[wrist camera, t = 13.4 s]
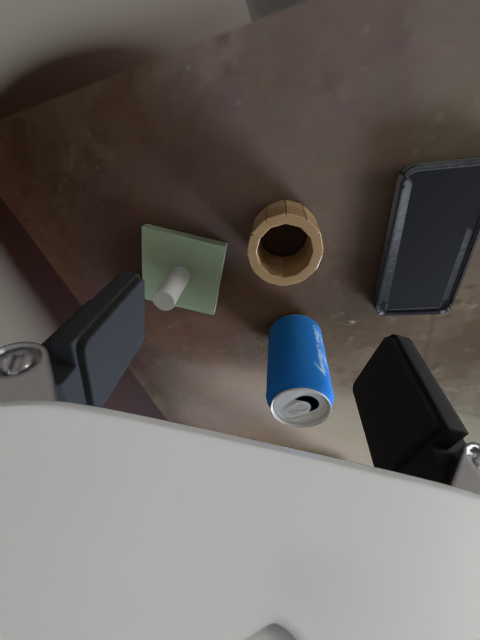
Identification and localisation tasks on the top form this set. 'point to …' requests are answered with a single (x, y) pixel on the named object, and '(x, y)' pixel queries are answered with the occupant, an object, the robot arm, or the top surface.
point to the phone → (429, 237)
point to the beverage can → (298, 373)
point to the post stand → (181, 269)
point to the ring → (289, 266)
